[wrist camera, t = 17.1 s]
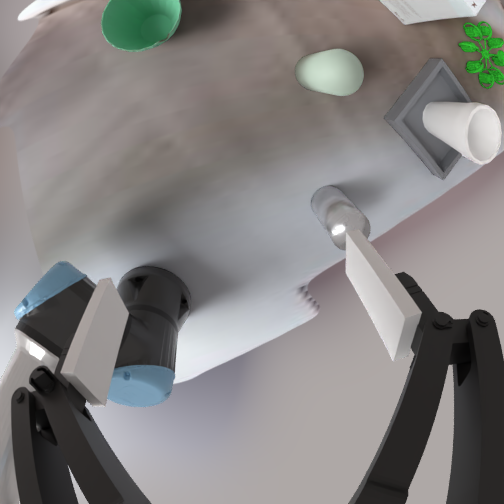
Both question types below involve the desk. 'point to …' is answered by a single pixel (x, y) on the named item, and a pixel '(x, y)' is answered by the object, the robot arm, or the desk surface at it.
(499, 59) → the green leafy sprig
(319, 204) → the steel canister
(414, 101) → the tray
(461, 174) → the desk surface
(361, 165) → the desk surface
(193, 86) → the desk surface
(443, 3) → the supplement box
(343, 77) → the sage canister
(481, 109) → the foam cup
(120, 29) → the mug
